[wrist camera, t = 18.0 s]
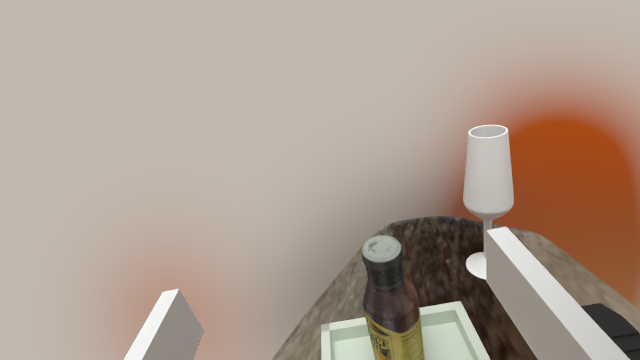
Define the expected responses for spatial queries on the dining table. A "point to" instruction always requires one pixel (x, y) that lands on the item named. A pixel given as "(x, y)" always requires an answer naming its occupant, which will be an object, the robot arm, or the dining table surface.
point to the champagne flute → (487, 182)
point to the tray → (437, 331)
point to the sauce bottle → (390, 303)
